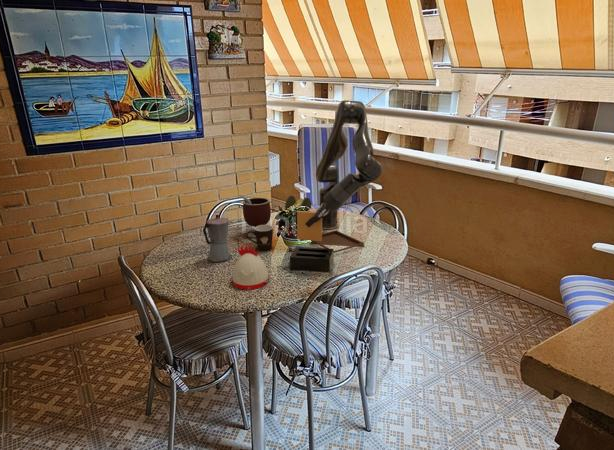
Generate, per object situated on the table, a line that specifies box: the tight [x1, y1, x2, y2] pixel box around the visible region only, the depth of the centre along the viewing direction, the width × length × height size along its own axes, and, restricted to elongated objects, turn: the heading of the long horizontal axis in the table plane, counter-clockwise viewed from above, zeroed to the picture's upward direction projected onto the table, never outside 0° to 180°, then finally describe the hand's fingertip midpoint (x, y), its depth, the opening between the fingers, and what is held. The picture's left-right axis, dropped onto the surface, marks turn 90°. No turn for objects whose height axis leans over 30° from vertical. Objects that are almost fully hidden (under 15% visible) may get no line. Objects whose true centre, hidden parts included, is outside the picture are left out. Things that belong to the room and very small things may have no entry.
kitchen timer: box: [231, 244, 270, 290], centre depth 156 cm, size 14×14×15 cm
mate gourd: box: [239, 194, 272, 239], centre depth 205 cm, size 16×14×20 cm
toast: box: [296, 211, 323, 241], centre depth 164 cm, size 10×1×12 cm, turn 78°
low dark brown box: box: [289, 246, 335, 273], centre depth 166 cm, size 17×11×7 cm, turn 78°
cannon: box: [284, 195, 312, 210], centre depth 226 cm, size 25×12×11 cm, turn 152°
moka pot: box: [202, 214, 230, 263], centre depth 175 cm, size 10×15×20 cm, turn 155°
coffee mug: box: [245, 224, 274, 252], centre depth 188 cm, size 12×9×10 cm
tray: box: [310, 230, 365, 254], centre depth 191 cm, size 21×17×2 cm
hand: (307, 224), depth 164 cm, fingers closed on toast, 1 cm apart
